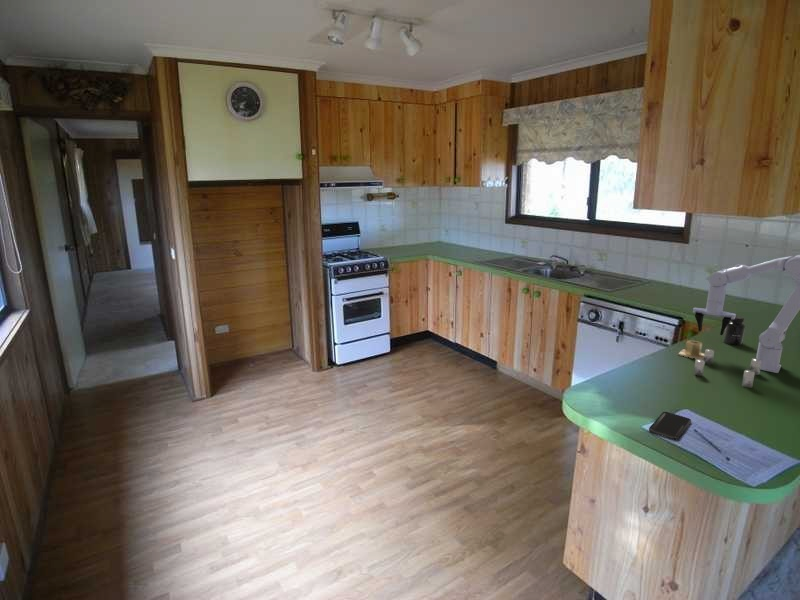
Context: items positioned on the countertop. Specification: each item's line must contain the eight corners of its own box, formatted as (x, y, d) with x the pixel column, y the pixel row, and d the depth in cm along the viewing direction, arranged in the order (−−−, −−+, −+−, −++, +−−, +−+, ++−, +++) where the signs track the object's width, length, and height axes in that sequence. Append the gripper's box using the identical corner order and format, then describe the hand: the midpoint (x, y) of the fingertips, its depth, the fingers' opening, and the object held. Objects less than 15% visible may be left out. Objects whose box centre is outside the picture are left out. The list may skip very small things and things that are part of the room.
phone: (648, 428, 138) (664, 410, 148) (647, 432, 138) (663, 414, 148) (678, 438, 132) (692, 419, 143) (677, 442, 133) (692, 422, 143)
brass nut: (687, 350, 199) (689, 339, 197) (701, 353, 195) (703, 341, 194) (683, 354, 195) (685, 342, 193) (697, 357, 191) (699, 345, 190)
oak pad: (682, 350, 201) (682, 349, 200) (707, 356, 195) (707, 354, 194) (678, 355, 196) (678, 353, 195) (703, 360, 190) (703, 358, 189)
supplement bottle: (733, 346, 205) (738, 319, 202) (719, 341, 212) (723, 315, 209) (746, 344, 207) (750, 318, 204) (731, 339, 213) (735, 314, 210)
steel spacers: (704, 361, 189) (706, 348, 188) (759, 373, 177) (762, 359, 175) (692, 374, 176) (694, 360, 175) (751, 388, 164) (754, 373, 163)
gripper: (692, 299, 193) (688, 331, 196) (735, 305, 183) (729, 338, 187) (697, 296, 198) (692, 327, 201) (738, 302, 188) (733, 334, 192)
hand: (710, 332), depth 194 cm, fingers open, 7 cm apart
